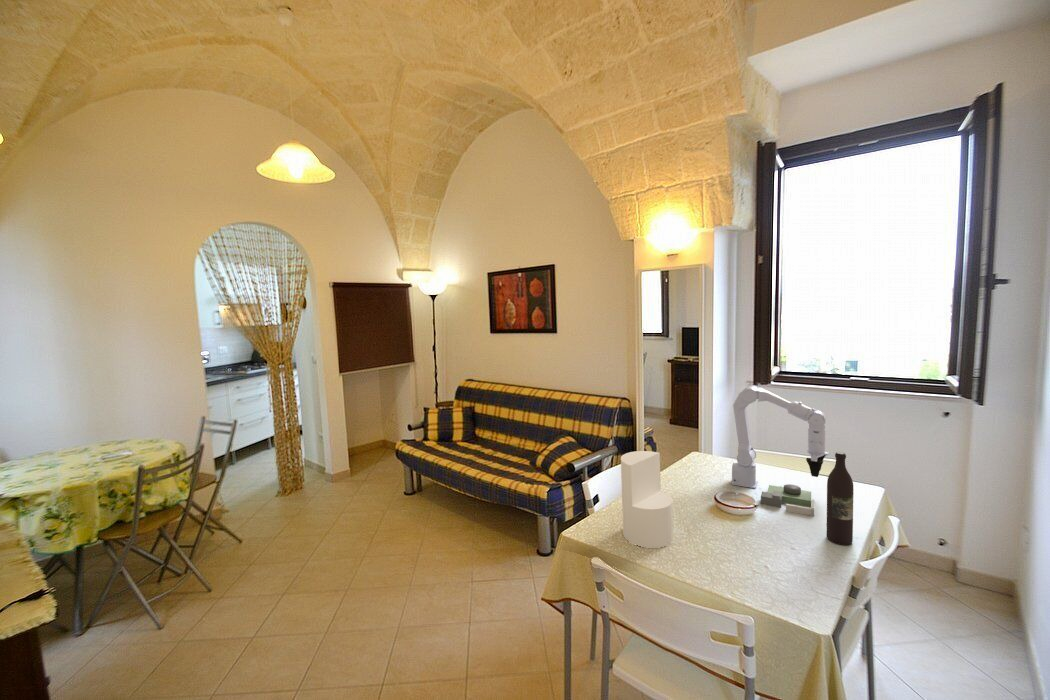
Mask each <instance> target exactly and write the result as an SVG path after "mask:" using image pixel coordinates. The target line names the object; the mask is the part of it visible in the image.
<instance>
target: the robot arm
mask: <svg viewBox="0 0 1050 700" xmlns="http://www.w3.org/2000/svg"><path fill="white" fill-rule="evenodd" d="M756 401H757V402H759V403H760V402H769V403H771V404H774V405H776V406H778V407H781V408H783V409H786V411H787V413H788V414H789V415H791V416H794V417H796V418H798V419H800V420H802V421H803V422H807V423H808V428H807V429H808V430H807V454H808V455H809V456H810V457H806V459H805V460H806V463H807V464H808V466H809V471H810V474H811V475H810V476H811V477H816V478H819V474H820V471H821V469H822V466H823V464H824V462H825V461H824V459H825V458H826V456H829V451H826V419H827V417H826V414H825V413H824V412H823V411H821V410H820V409H816V408H814V407H812V408H811V407H809V406H807V405H804V404H803V402H802V401H789V400H787V399H785V398H783V397H781V396H779V395H777V394H775V393H773V392H772V391H771V392H770V391H769V390H766V389H764V388H763V387H758V386H757V385H755V384H751V385H748V386H747V387H745V388H744V389H743V390H742V391H740V392H739V393H738V396H737V397H736V398H735V400H734V401H733V402H734V403H733V404H732V407H733V413H734V421H735V427H736V435H737V442H738V444H737V445H738V447H737V456H736V461H737V462H733V463H732V465H731V466H732V468H731V485H732V486H739V487H744V488H748V489H749V488H751V489H756V488H757V486H758V483H759V481H757V476H756V475H757V473H756V470H757V468H756V467H757V465H756V463H755V459H756V458H757V452H756V450H755V448H754V445H753V443H752V442H751V441H752V440H751V434H750V427H749V421H748V412H747V407H748V406H749V405H751V404H754V403H755V402H756Z"/></svg>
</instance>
